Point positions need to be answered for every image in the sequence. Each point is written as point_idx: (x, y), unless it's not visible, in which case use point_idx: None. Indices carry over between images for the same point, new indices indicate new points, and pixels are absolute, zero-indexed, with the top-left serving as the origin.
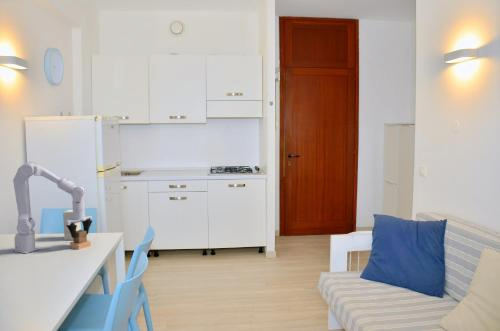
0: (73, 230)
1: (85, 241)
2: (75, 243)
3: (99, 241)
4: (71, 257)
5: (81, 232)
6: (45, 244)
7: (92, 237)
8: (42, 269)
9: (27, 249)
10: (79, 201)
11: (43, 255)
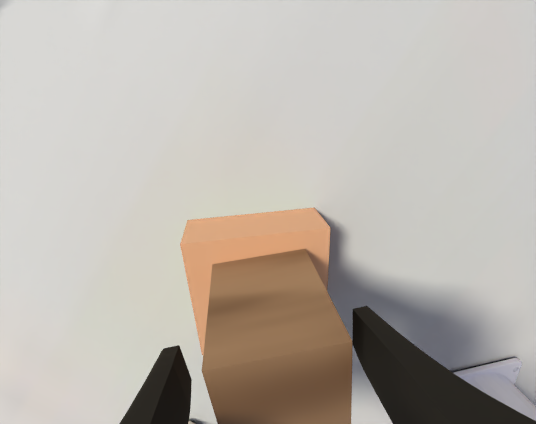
0: (480, 392)
1: (229, 262)
2: (323, 276)
3: (50, 288)
4: (510, 30)
5: (304, 346)
6: None
7: (54, 413)
8: None
9: (509, 383)
10: None
11: (516, 263)
